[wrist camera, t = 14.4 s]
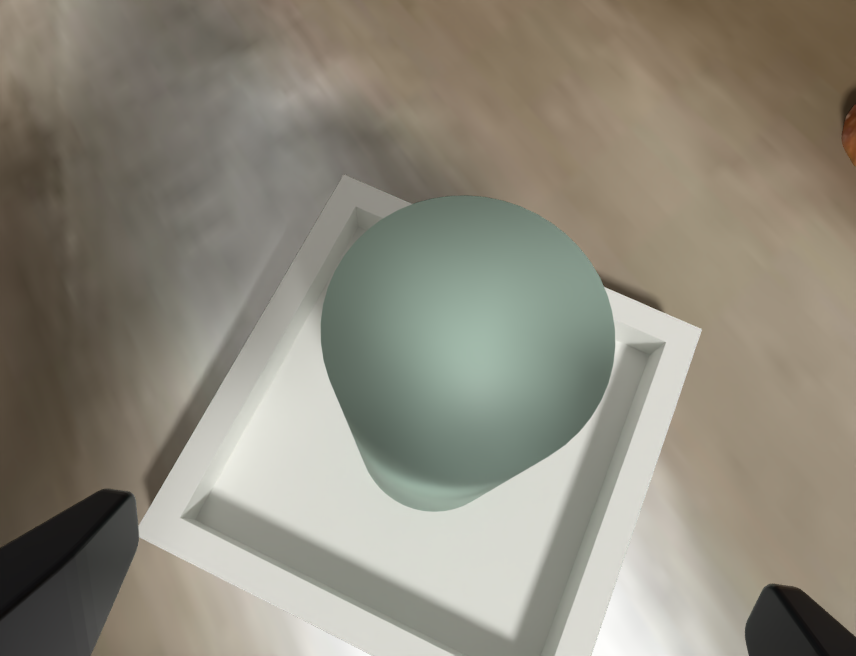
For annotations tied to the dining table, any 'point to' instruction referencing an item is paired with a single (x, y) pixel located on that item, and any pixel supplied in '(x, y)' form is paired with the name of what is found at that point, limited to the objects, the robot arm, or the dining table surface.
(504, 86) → the dining table surface
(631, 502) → the tray
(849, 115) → the slice of bread
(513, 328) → the grey-green post
